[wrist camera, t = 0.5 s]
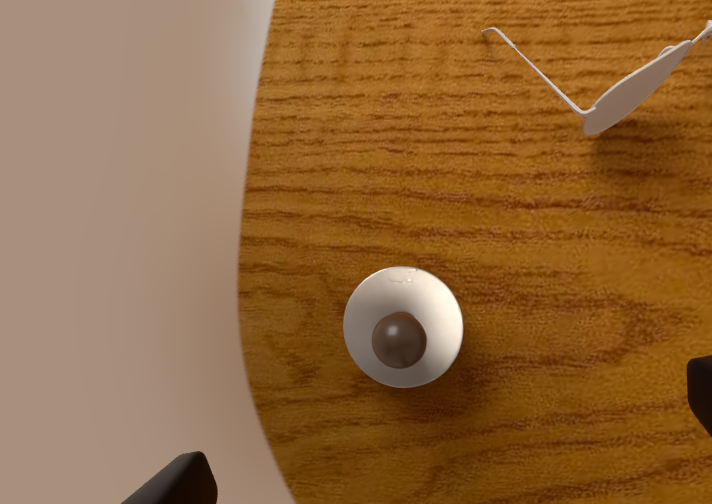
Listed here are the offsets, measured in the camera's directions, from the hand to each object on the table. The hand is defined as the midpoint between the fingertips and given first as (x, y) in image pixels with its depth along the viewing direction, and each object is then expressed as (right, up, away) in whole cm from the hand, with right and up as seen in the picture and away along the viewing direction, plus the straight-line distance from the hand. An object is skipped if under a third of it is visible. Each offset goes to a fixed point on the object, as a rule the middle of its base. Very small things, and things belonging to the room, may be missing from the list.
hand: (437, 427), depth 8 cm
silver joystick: (+1, -1, +15) cm, 15 cm away
